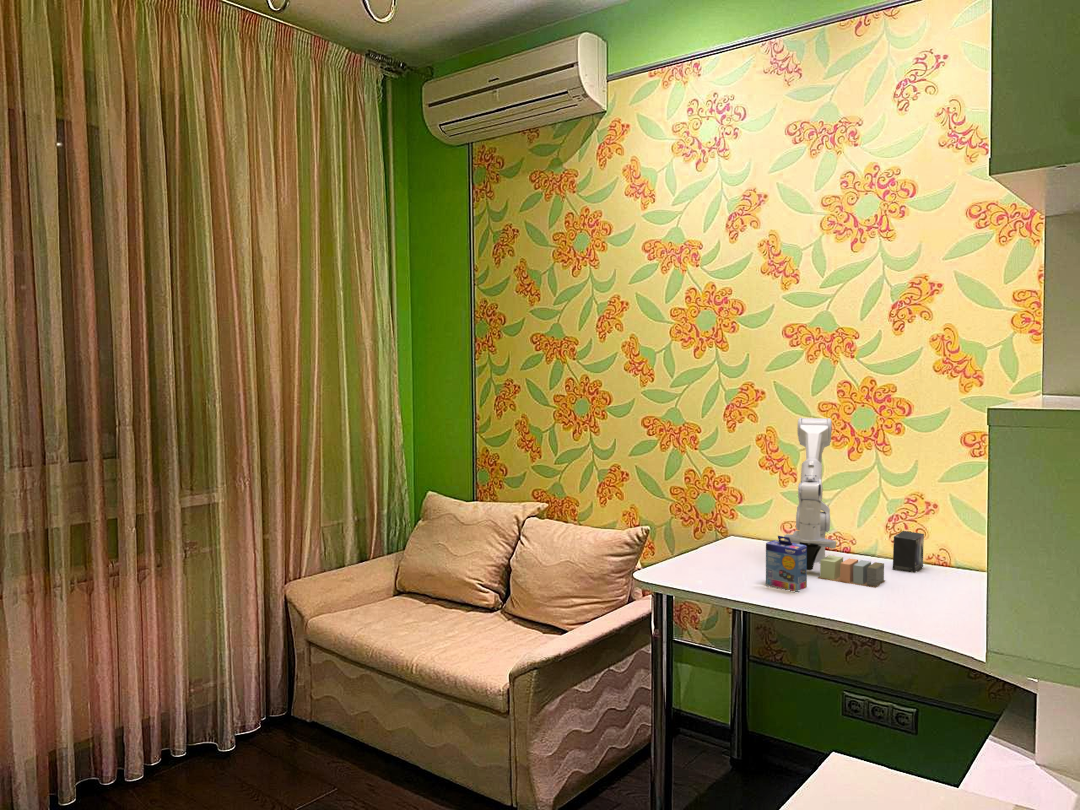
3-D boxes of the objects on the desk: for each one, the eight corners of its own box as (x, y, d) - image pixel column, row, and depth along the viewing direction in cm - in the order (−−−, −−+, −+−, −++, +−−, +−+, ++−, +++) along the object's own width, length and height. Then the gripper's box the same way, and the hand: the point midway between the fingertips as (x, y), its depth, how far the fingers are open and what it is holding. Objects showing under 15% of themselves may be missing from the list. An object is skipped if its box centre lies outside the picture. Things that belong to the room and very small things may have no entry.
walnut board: (816, 580, 234) (817, 578, 234) (828, 573, 241) (828, 571, 240) (875, 589, 224) (875, 587, 223) (885, 582, 231) (885, 580, 230)
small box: (915, 575, 238) (916, 539, 237) (891, 571, 242) (892, 536, 241) (924, 567, 246) (925, 532, 246) (901, 564, 250) (901, 530, 250)
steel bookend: (866, 585, 226) (867, 567, 226) (874, 579, 231) (875, 562, 231) (875, 586, 224) (876, 568, 224) (883, 581, 230) (884, 563, 230)
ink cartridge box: (764, 586, 228) (764, 534, 227) (774, 582, 232) (775, 531, 231) (797, 593, 221) (798, 539, 220) (807, 589, 225) (808, 536, 224)
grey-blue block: (853, 583, 228) (853, 565, 228) (861, 577, 234) (861, 560, 233) (862, 584, 227) (863, 566, 226) (870, 579, 232) (871, 561, 232)
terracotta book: (840, 580, 230) (840, 563, 230) (848, 575, 236) (849, 558, 236) (849, 582, 229) (849, 564, 228) (858, 577, 234) (858, 559, 234)
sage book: (820, 577, 234) (820, 560, 234) (829, 572, 240) (829, 555, 239) (834, 579, 232) (834, 562, 231) (842, 574, 237) (843, 557, 237)
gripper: (780, 522, 240) (779, 568, 241) (830, 528, 231) (829, 576, 232) (789, 518, 246) (789, 563, 246) (838, 524, 236) (838, 571, 237)
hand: (809, 569), depth 239 cm, fingers closed
